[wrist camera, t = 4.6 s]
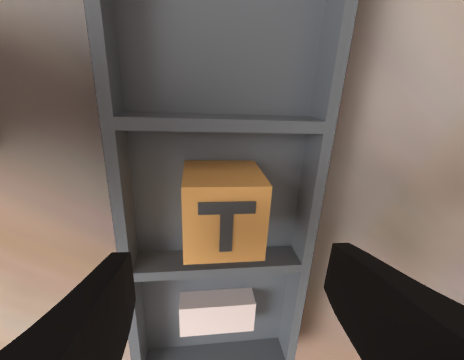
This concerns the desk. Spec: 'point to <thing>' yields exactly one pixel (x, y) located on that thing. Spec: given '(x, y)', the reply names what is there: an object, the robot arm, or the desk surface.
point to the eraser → (216, 311)
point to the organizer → (217, 149)
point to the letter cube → (224, 211)
